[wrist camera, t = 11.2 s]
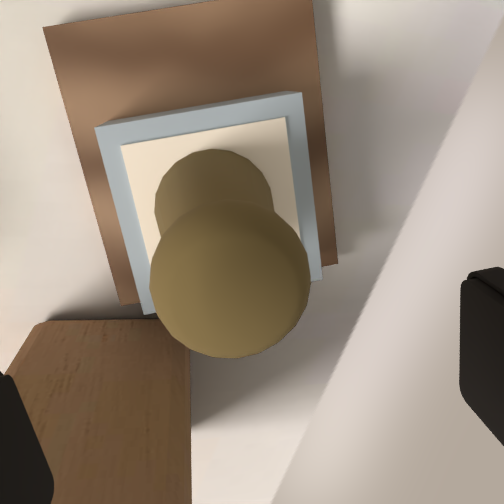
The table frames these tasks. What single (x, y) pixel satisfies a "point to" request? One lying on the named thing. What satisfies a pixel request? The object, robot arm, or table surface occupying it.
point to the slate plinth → (202, 138)
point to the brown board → (187, 87)
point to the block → (109, 409)
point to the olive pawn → (225, 258)
